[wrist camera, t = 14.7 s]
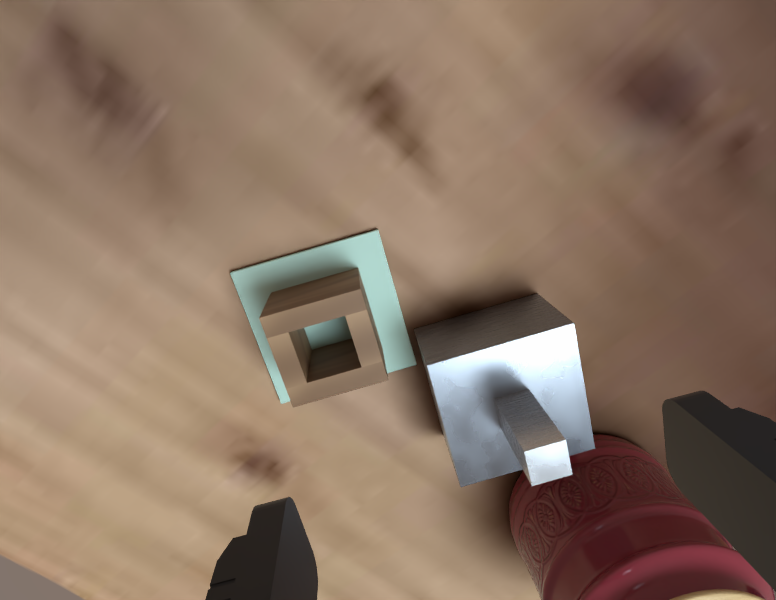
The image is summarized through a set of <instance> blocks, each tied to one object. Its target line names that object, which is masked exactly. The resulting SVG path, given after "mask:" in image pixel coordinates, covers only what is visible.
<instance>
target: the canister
mask: <svg viewBox="0 0 776 600" xmlns="http://www.w3.org/2000/svg"><path fill="white" fill-rule="evenodd" d="M593 439H594V445H595V449H592V450H588V451H585V452H582V453H578V454H575V455H571V456H569V458H570V463H571V469H572V474H573V475H569V476H566V477H562V478H559V479H555V480H552V481H548V482H545V483H542V484H538V485H535V486H532V485H531V484H530V482H529V480H528V478H527V476H526V474H525V472H524V471H523V472H522V473H521V475H520V476H519V478H518V480H517V482H516V483H515V486H514V488H513V490H512V493H511V497H510V502H509V519H510V525H511V532H512V537H513V540H514V542H515V545H516V547H517V550H518V552H519V554H520V556H521V558H522V559H523V561H524V562H525V564H526V565H527V567H528V570H529V572H530V574H531V577H532V579H533V581H534V584H535V586H536V588H537V591H538V593H539V595H540V598H541V600H775V595H774V591H773V588H772V587H771V586H770V585H769V584H768V583H767V582H766V581H765V580H764V579H763V578H762V577H761V576H760V575H759V574H758V572H757V571H756V570H755V569H754V568H753V567H752V566H751V565H750V564H749V563H748V562H747V561H746V560H745V559H744V558H743V557H742V556H741V554H740V553H739V552H738V551H736V550H734V549H733V547H732V545H731V544H730V543H729V542H728V541H727V540H726V539H725V538H724V536H723V535H722V534H721V533H720V532H719V531H718V530H717V529H716V528H715V527H714V526H713V525H712V524H711V523H710V522H709V521H708V520H707V518H706V517H705V516H704V515H703V514H702V513H701V512H700V511H699V510H698V509H697V508H696V507H695V506H694V505H693V504H692V503H691V502H690V500H689V499H688V498H687V497H686V496H685V495H684V494H683V493H682V492H681V491H680V490H679V488H678V487H677V485H676V484H675V482H674V481H673V480H672V478H671V476H670V475H669V473H668V472H667V471H666V469H665V468H664V467H663V466H662V465H661V464H660V463H659V462H658V461H657V460H656V459H655V458H654V457H653V456H651V455H650V454H649V453H647V452H646V451H644V450H643V449H641V448H639V447H638V446H636V445H635V444H633V443H631V442H629V441H627V440H625V439H622V438H619V437H615V436H610V435H593Z"/></svg>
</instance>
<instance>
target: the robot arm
mask: <svg viewBox="0 0 776 600" xmlns="http://www.w3.org/2000/svg"><path fill="white" fill-rule="evenodd" d="M662 412H663V424H664V436H665V448H666V460H667V465H668V469H669V471H670V474H671V476H672V478H673V480H674V482H675V484H676V485H677V487H678V488H679V490H680V491H681V492H682V493H683V494H684V495H685V496H686V497H687V498H688V499H689V500H690V502H691V503H692V504H693V505H694V506H695V507H696V508H697V509H698V510H699V511H700V512H701V513H702V514H703V515H704V516H705V517H706V518H707V520H708V521H709V522H710V523H711V524H712V525H713V526H714V527H715V528H716V529H717V530H718V531H719V532H720V533H721V534H722V535H723V536H724V538H725V539H726V540H727V541H728V542H729V543H730V544H731V545H732V546H733V547H734V548H735V549H736V550H737V551H738V552H739V553H740V554H741V556H742V557H743V558H744V559H745V560H746V561H747V562H748V563H749V564H750V565H751V566H752V567H753V568H754V569H755V570H756V571H757V572H758V574H759V575H760V576H761V577H762V578H763V579H764V580H765V581H766V582H767V583H768V584H769V585H770V586H771V587H772V588H773V589H774V590H775V591H776V423H775V422H774V421H772V420H771V419H769V418H767V417H764V416H761V415H758V414H756V413H753V412H750V411H747V410H745V409H742V408H739V407H738V408H734V409H730V408H729V407H728V406H726V405H725V404H723V403H722V402H721V401H719V400H718V399H716V398H715V397H713V396H712V395H711V394H709V393H707V392H705V391H698V392H694V393H690V394H686V395H682V396H678V397H675V398H671V399H667V400H665V401H664V403H663V407H662ZM317 590H318V576H317V567H316V561H315V557H314V554H313V551H312V548H311V545H310V543H309V540H308V537H307V535H306V532H305V529H304V527H303V524H302V521H301V519H300V516H299V513H298V511H297V508H296V505H295V503H294V501H293V499H292V498H291V497H287V498H284V499H280V500H276V501H272V502H268V503H265V504H261V505H257V506H255V507H254V508H253V511H252V514H251V519H250V523H249V527H248V531H247V535H243V536H240V537H236V538H233V539H232V541H231V542H230V543H229V545H228V546H227V548H226V549H225V551H224V552H223V553H222V555H221V556H220V558H219V559H218V560H217V563H216V566H215V570H214V573H213V576H212V580H211V583H210V589H209V590H208V593H207V596H206V600H317Z"/></svg>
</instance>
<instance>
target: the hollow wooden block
mask: <svg viewBox="0 0 776 600" xmlns="http://www.w3.org/2000/svg"><path fill="white" fill-rule="evenodd" d="M343 316H345V317H346V320H347V323H348V327H349V330H350V333H351V336H352V338H351V339H348V340H344V341H341V342H337V343H334V344H330V345H327V346H323V347H320V348H316V349H313V350H312V348H311V346H310V343H309V340H308V337H307V334H306V331H305V329H304V328H305V327H308V326H312V325H315V324H319V323H322V322H326V321H329V320H333V319H336V318H340V317H343ZM259 320H260V322H261V325H262V328H263V330H264V333H265V335H266V338H267V341H268V343H269V346H270V348H271V351H272V354H273V356H274V359H275V362H276V364H277V367H278V369H279V372H280V375H281V377H282V380H283V383H284V385H285V388H286V390H287V393H288V396H289V398H290V401H291V403H292V406H293V407H296V406H300V405H303V404H307V403H310V402H314V401H317V400H321V399H324V398H328V397H331V396H335V395H338V394H342V393H345V392H349V391H352V390H356V389H359V388H363V387H366V386H370V385H373V384H377V383H380V382H384V381H387V380H388V375H387V370H386V364H385V359H384V353H383V348H382V344H381V341H380V338H379V334H378V331H377V328H376V325H375V321H374V318H373V315H372V311H371V308H370V305H369V301H368V298H367V295H366V292H365V288H364V285H363V282H362V278H361V275H360V272H359V268H354V269H351V270H348V271H344V272H341V273H337V274H334V275H330V276H327V277H323V278H320V279H316V280H313V281H309V282H306V283H302V284H299V285H295V286H292V287H288V288H285V289H282V290H278V291H275V292H271V294H270V296H269V298H268V300H267V302H266V304H265V306H264V308H263V311H262V313H261V315H260V317H259Z"/></svg>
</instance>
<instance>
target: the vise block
mask: <svg viewBox="0 0 776 600" xmlns="http://www.w3.org/2000/svg"><path fill="white" fill-rule="evenodd" d="M414 332H415V335H416V339H417V342H418V346H419V350H420V353H421V357H422V360H423V364H424V367H425V371H426V375H427V378H428V382H429V385H430V389H431V392H432V396H433V399H434V403H435V407H436V410H437V414H438V417H439V421H440V424H441V428H442V432H443V435H444V438H445V441H446V444H447V447H448V450H449V453H450V456H451V459H452V462H453V465H454V468H455V471H456V474H457V477H458V480H459V483H460V486H461V487H463V486H467V485H470V484H473V483H477V482H480V481H484V480H487V479H491V478H494V477H498V476H501V475H505V474H508V473H512V472H515V471H519V470H522V469H523V470H524V472H525V474H526V476H527V478H528V480H529V482H530V484H531V485H532V486H535V485H538V484H542V483H545V482H548V481H552V480H555V479H559V478H562V477H566V476H569V475H573V474H572V469H571V463H570V458H569V456H571V455H575V454H578V453H582V452H585V451H588V450H592V449H595V445H594V439H593V433H592V427H591V421H590V415H589V409H588V403H587V397H586V391H585V385H584V379H583V374H582V368H581V362H580V356H579V350H578V344H577V338H576V332H575V326H574V323H573V322H572V321H571V320H569V319H568V318H567V317H566V316H564V315H563V314H562V313H561V312H560V311H558V310H557V309H556V308H555V307H553V306H552V305H551V304H550V303H548V302H547V301H546V300H545V299H544V298H542V297H541V296H540V295H539V294H534V295H530V296H527V297H523V298H520V299H516V300H513V301H509V302H506V303H503V304H499V305H496V306H492V307H489V308H485V309H482V310H478V311H475V312H471V313H468V314H465V315H461V316H458V317H454V318H451V319H447V320H444V321H440V322H437V323H433V324H430V325H427V326H423V327H420V328H416V329H414Z"/></svg>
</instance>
